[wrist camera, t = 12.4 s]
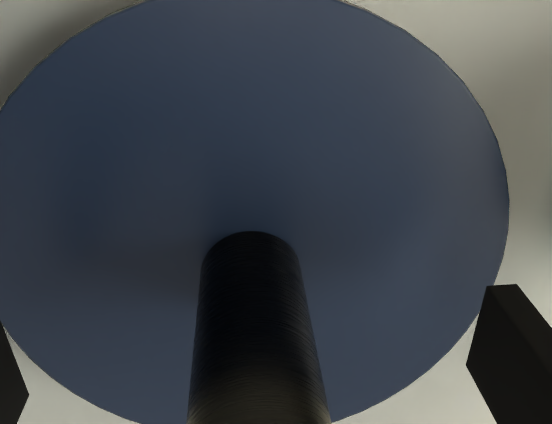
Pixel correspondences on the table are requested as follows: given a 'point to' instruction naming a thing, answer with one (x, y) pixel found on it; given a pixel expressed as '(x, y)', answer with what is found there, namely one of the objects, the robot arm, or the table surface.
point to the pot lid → (245, 211)
